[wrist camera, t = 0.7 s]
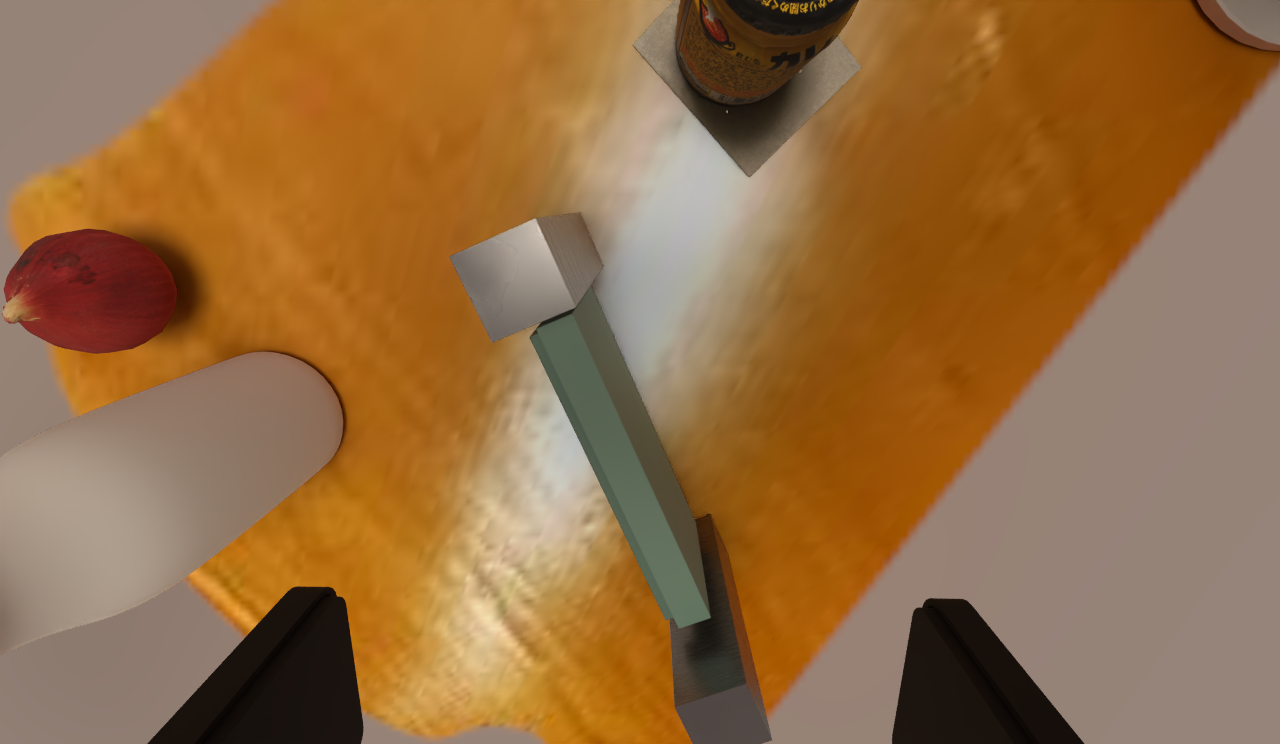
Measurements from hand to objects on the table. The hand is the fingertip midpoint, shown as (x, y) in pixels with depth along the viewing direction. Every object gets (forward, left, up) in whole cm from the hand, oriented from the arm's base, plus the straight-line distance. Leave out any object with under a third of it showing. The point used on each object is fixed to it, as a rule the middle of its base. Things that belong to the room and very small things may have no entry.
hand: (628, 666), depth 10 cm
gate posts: (+2, +3, -24) cm, 24 cm away
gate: (+2, +3, -22) cm, 22 cm away
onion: (+23, -13, -24) cm, 35 cm away
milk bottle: (+21, -4, -24) cm, 32 cm away
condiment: (-10, -11, -24) cm, 28 cm away
